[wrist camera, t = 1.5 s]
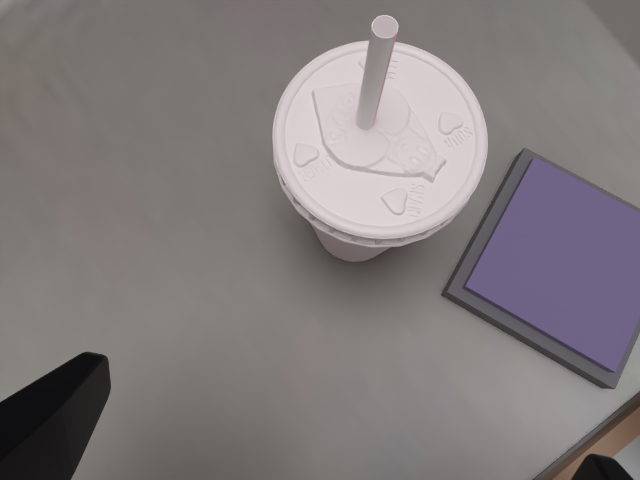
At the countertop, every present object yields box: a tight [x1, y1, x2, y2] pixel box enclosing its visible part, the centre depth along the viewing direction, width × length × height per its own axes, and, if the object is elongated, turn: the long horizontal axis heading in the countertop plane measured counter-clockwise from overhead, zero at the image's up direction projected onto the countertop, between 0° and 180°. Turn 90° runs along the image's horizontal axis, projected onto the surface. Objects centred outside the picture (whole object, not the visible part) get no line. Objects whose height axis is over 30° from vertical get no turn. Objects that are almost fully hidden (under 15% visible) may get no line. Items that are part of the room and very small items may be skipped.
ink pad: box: [441, 148, 640, 389], centre depth 23 cm, size 8×8×2 cm
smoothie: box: [273, 15, 488, 262], centre depth 17 cm, size 6×6×14 cm
